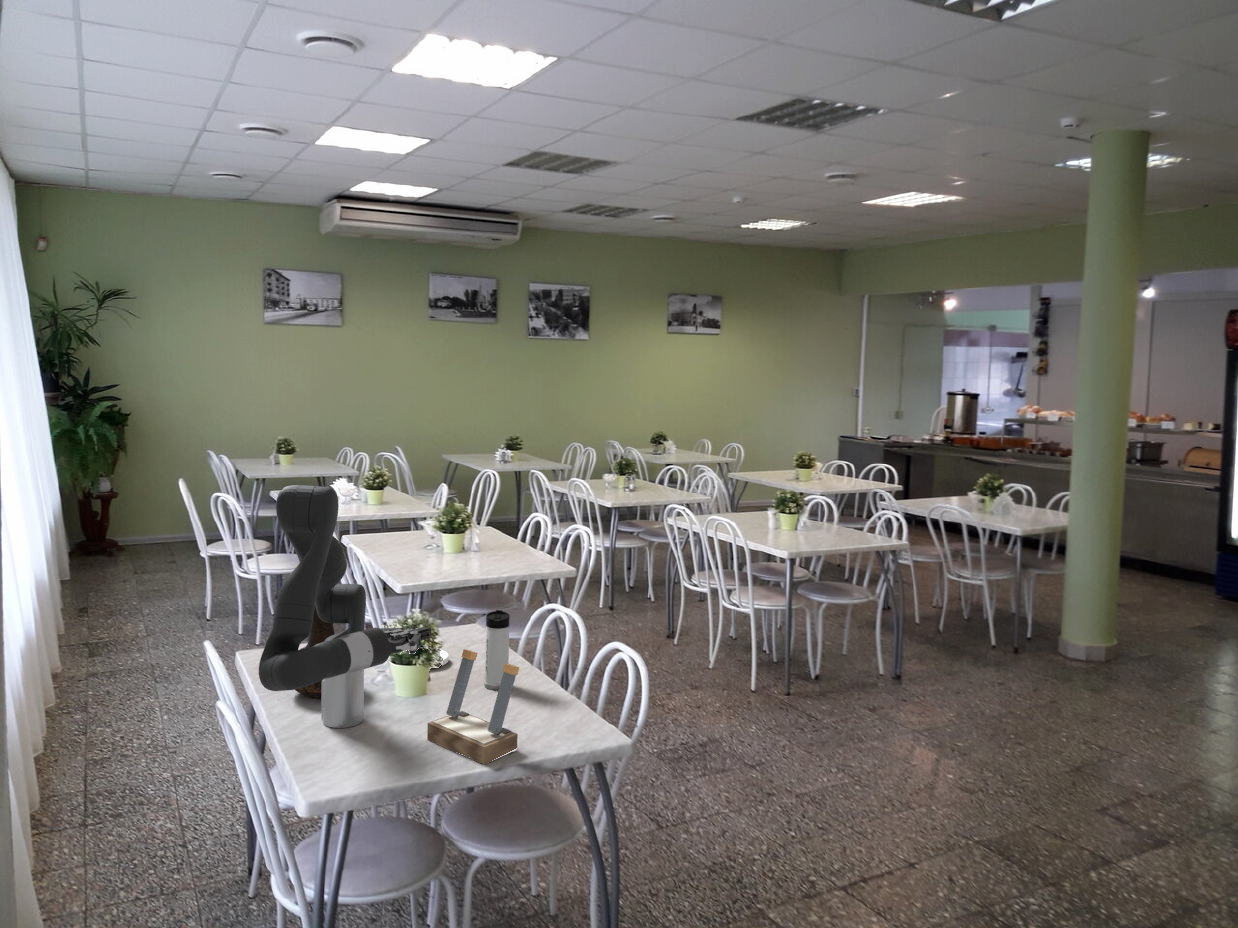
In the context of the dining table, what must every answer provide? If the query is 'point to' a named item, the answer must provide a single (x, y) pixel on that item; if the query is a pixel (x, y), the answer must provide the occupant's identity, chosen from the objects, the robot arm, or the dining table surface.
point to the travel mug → (496, 647)
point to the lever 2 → (503, 698)
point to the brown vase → (317, 636)
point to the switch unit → (471, 737)
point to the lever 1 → (461, 683)
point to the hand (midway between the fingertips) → (428, 631)
